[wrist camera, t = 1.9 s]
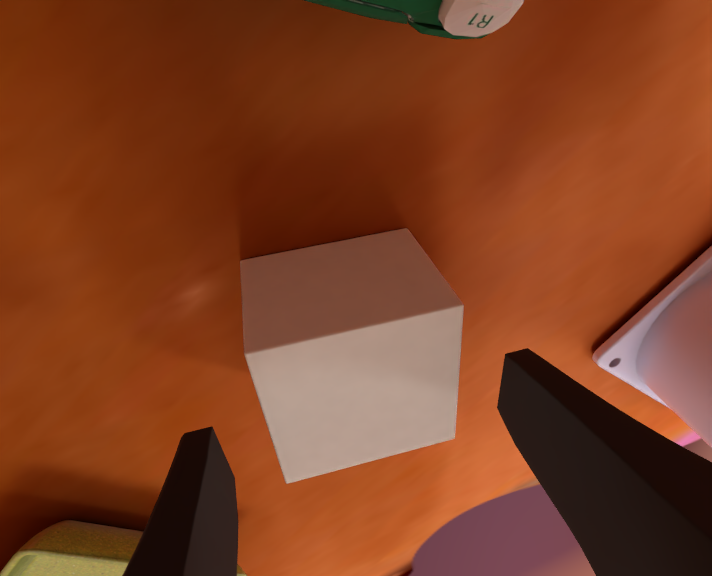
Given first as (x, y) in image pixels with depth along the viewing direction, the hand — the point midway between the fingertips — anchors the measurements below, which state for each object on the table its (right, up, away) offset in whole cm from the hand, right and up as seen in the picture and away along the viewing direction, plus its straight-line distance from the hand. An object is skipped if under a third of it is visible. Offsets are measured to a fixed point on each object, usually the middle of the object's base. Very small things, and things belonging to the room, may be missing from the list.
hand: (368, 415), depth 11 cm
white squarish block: (-1, +2, +4) cm, 4 cm away
